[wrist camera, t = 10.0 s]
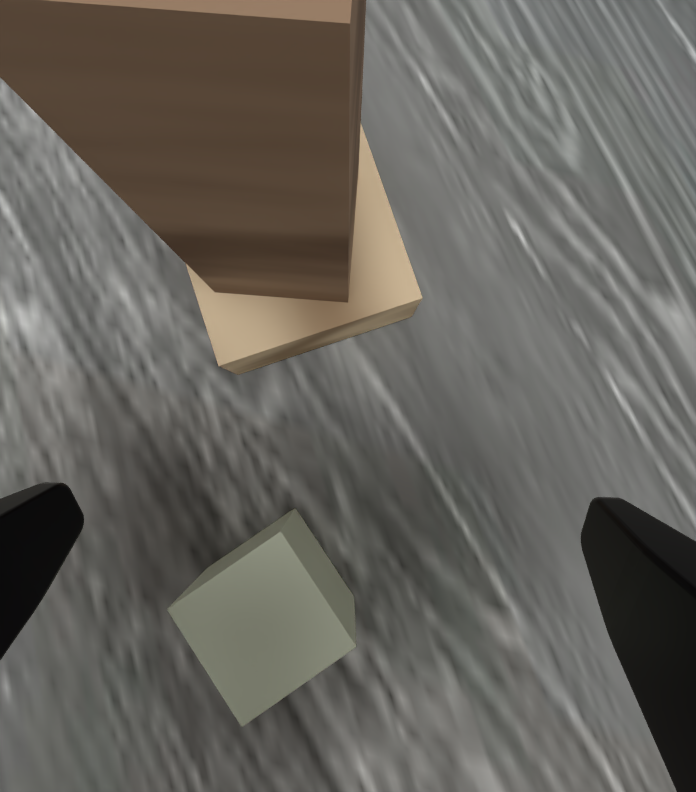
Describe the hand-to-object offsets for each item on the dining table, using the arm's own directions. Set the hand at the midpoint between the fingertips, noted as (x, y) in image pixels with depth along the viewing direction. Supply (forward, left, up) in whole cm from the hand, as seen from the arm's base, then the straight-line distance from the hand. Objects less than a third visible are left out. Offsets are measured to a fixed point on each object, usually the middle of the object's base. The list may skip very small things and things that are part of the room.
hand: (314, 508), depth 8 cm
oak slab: (+1, +9, -12) cm, 15 cm away
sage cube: (-4, -4, -12) cm, 13 cm away
